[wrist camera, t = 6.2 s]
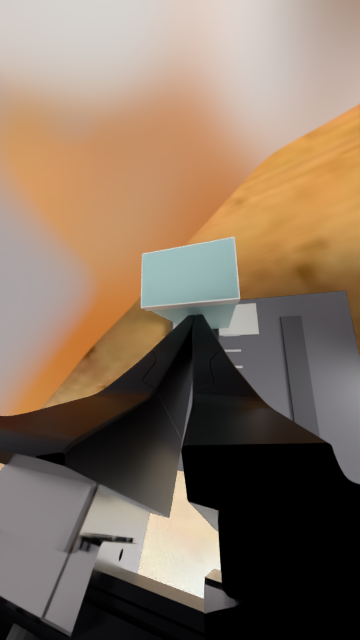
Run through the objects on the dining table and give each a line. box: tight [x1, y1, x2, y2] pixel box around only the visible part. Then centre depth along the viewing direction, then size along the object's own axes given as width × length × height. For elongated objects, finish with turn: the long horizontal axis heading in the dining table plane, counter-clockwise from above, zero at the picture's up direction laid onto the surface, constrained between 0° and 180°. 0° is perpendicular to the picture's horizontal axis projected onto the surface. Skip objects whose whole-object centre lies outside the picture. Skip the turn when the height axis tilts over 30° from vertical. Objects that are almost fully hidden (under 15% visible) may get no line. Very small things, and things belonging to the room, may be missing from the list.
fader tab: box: [141, 237, 240, 329], centre depth 12 cm, size 3×4×11 cm, turn 91°
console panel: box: [171, 291, 360, 484], centre depth 15 cm, size 16×16×1 cm
